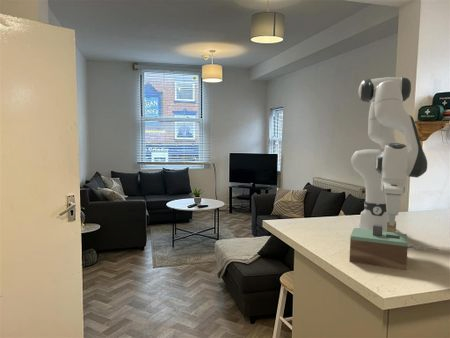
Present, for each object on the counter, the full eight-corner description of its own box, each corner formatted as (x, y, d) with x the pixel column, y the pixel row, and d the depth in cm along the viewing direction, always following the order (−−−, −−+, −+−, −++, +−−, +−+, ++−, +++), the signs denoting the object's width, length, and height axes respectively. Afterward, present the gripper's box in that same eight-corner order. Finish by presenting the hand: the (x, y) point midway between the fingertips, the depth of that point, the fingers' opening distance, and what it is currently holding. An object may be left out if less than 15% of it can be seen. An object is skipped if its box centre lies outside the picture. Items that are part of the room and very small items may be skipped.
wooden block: (385, 252, 139) (387, 220, 138) (394, 253, 138) (396, 220, 136) (385, 255, 136) (387, 221, 135) (394, 256, 135) (396, 222, 134)
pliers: (437, 253, 135) (393, 245, 144) (436, 257, 136) (393, 249, 144) (438, 246, 144) (397, 239, 152) (438, 250, 144) (397, 243, 152)
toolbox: (352, 253, 137) (353, 231, 136) (404, 261, 129) (406, 237, 129) (349, 264, 126) (350, 239, 125) (406, 272, 119) (407, 246, 118)
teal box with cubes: (353, 233, 136) (354, 219, 136) (406, 239, 129) (407, 224, 128) (350, 242, 125) (351, 226, 125) (407, 249, 118) (408, 232, 117)
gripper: (385, 182, 145) (383, 215, 146) (384, 189, 127) (382, 227, 128) (402, 183, 142) (400, 217, 144) (403, 190, 124) (401, 229, 125)
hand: (391, 222), depth 136 cm, fingers open, 8 cm apart
